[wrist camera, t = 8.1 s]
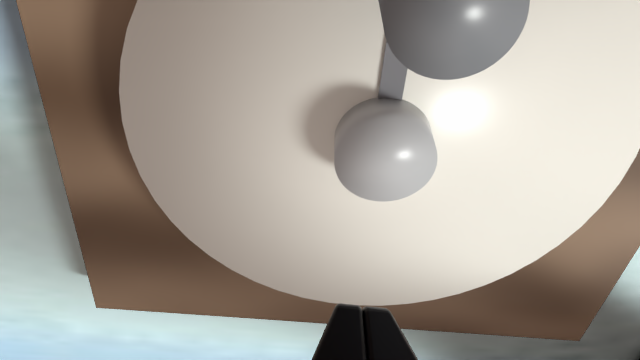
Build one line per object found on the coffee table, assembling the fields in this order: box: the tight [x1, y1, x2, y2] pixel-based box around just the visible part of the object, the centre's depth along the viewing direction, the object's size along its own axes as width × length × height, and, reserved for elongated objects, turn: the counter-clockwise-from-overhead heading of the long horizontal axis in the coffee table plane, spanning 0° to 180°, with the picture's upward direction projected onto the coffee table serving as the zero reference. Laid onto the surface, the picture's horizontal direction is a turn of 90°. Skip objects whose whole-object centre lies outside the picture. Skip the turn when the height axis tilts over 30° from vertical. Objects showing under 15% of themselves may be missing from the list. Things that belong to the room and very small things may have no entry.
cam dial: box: [119, 0, 640, 306], centre depth 15 cm, size 18×16×6 cm
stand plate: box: [16, 0, 640, 341], centre depth 17 cm, size 22×22×4 cm
